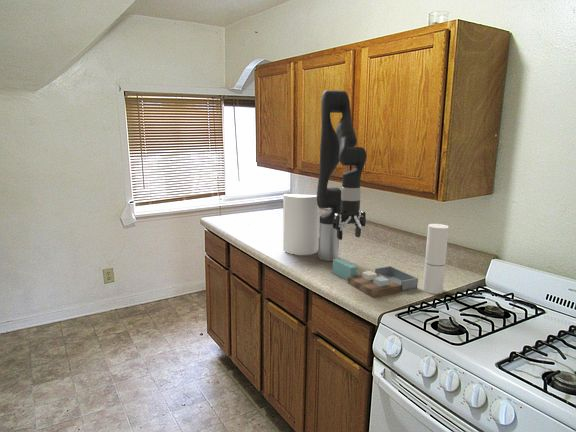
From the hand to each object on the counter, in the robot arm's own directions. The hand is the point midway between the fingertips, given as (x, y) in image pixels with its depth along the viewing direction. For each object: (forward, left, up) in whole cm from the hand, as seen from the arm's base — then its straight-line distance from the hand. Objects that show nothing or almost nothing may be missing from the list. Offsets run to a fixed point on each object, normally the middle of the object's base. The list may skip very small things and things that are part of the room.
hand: (348, 238), depth 166 cm
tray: (+14, +14, -17) cm, 25 cm away
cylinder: (-42, +1, -17) cm, 45 cm away
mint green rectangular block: (-1, -1, -17) cm, 17 cm away
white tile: (+10, +3, -14) cm, 18 cm away
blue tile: (+17, +3, -14) cm, 22 cm away
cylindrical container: (+26, +21, -17) cm, 37 cm away
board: (+14, +3, -17) cm, 22 cm away
